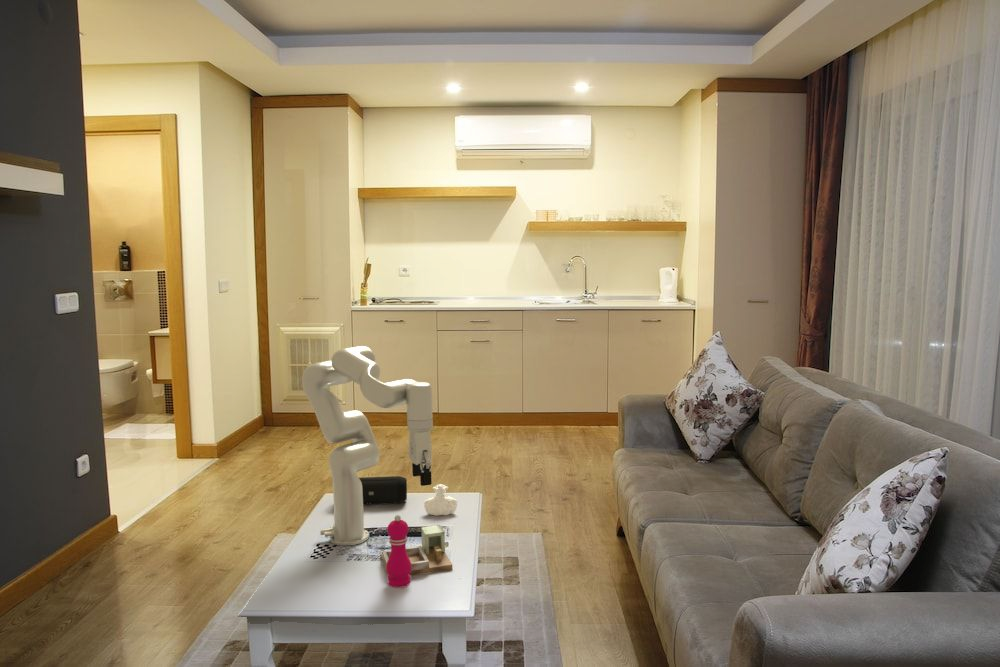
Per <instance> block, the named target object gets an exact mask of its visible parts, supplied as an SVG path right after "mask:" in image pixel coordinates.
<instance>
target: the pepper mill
mask: <svg viewBox="0 0 1000 667" xmlns="http://www.w3.org/2000/svg"><path fill="white" fill-rule="evenodd" d="M393 518H394V520H392V521H390V522H389V523H388V525H387V528H386V533H387V535H388V536H389V538H388V540H389V541H388V542H389V544H390V546H391V547H390V548H391V549H390V550H391V554H390V557H389V559H388V561H387V565H386V570H385V572H386V571H387V573H388V574H389V577H388V576H387V579H388V580H387V582H388V585H389V586H390V587H391V588H392V587H393V588H403V587H407V586H408V585H410V584H411V576H410V575H409V573H410V572H411V569H412V566H411V562H410V559H409V557H408V555H407V553H406V548H407V547H406V543H407V542H408V540H407V539H408V537H407V535H408V534H409V531H410V530H409V525H408V523H407V521H405V520H404V519H402V518H401V516H400V515H398V514H397V515H396V514H395V516H394V517H393ZM387 573H386V574H387Z"/></svg>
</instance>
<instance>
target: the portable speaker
mask: <svg viewBox="0 0 1000 667" xmlns="http://www.w3.org/2000/svg"><path fill="white" fill-rule="evenodd" d="M358 478H359V479H360V481H361V483H362V487H363V506H364V505H382V504H383V505H385V504H401V503H403V502H405V501H407V497H408V484H407V483H408V482H407V478H406V477H403V476H399V475H395V476H369V477H366V476H365V477H364V476H362V477H358Z"/></svg>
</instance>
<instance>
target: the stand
mask: <svg viewBox="0 0 1000 667" xmlns="http://www.w3.org/2000/svg"><path fill="white" fill-rule="evenodd" d="M379 553H380V559H381V562H382V565H383V568H384V570H385V572H386V575H387V578H388V577H389V574H388V573H387V571H386V565H387V561H388V559H389V557H390V554H391V549H388V550H382V551H381V552H379ZM406 553H407V555H408V557H409V559H410V562H411V566H412V569H411V572H410V573H409V575H410V577H412V576H417V575H423V574H424V575H425V574H430V573H435V572H436V573H437V572H444V571H450V570H451V571H452V570H453V563H452V561H451V560H450V558H449V556H448V555H447V552H446V551H445V552H442V550H441V549H440V547H439V546H431V547H429V554H425V552H424V550H423V548H422V545H418V546H417V545H416V546H409V547H406Z"/></svg>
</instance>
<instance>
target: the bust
mask: <svg viewBox="0 0 1000 667" xmlns="http://www.w3.org/2000/svg"><path fill="white" fill-rule="evenodd" d="M448 489H449V486H446V485H445V484H442V483H438V484H436V485H435V486H433V487H432V490H433V491H434V493H435V496H432V497H430V498H427V499H426V500H424V502H423V504H424V506H423V507H424V510H425V512H426V514H427V515H429V516H430V515H432V516H435V517H437V516H449V515H451V514H455V512H456V511H457V507H458V500H457V499H456V498H454V497H452V496H446V494H445V493H447V491H448Z"/></svg>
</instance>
